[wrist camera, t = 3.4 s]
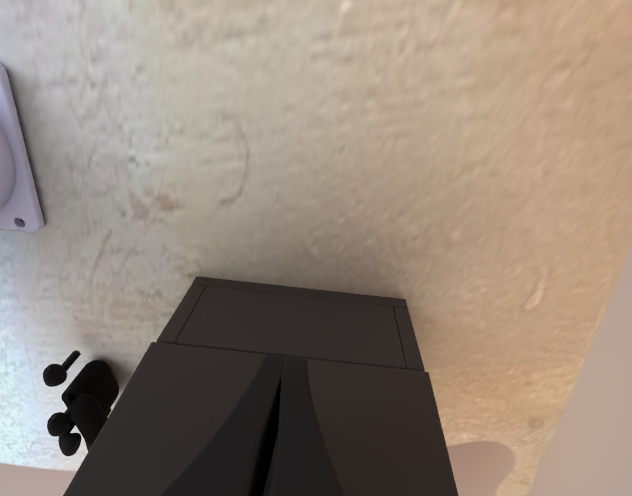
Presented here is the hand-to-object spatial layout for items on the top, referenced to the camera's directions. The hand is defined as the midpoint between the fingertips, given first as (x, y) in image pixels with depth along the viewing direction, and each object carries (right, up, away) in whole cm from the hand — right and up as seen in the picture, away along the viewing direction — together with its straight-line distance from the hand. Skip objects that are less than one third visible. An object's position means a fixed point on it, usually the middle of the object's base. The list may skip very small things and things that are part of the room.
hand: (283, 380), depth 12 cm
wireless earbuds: (-12, -4, +13) cm, 18 cm away
